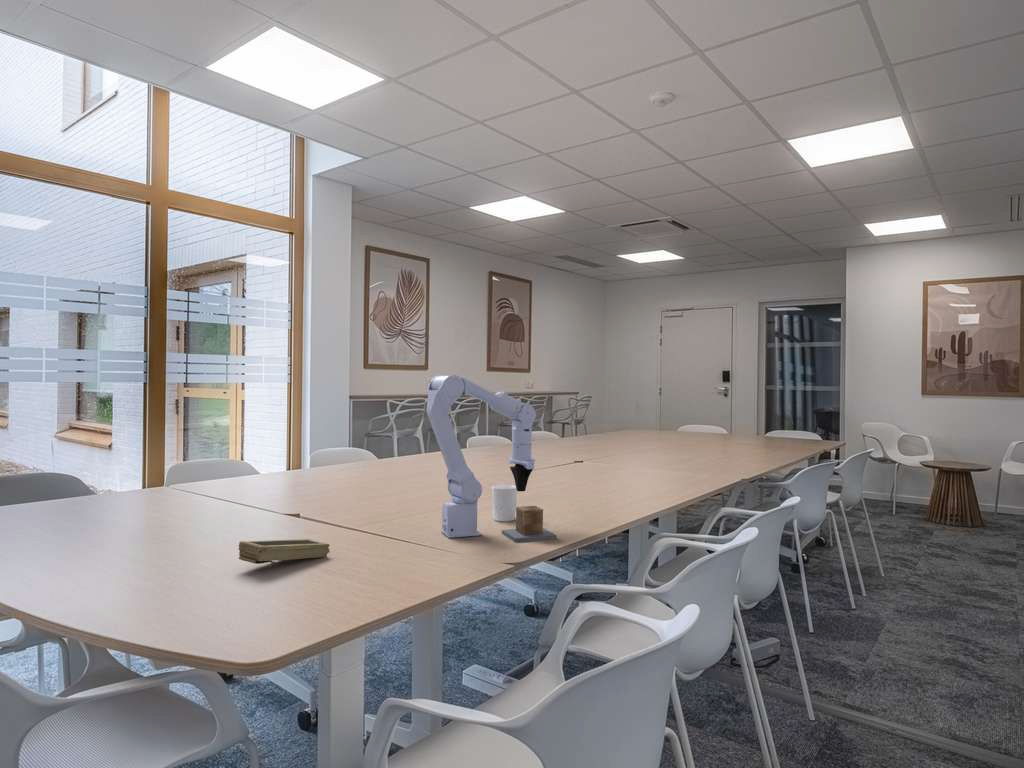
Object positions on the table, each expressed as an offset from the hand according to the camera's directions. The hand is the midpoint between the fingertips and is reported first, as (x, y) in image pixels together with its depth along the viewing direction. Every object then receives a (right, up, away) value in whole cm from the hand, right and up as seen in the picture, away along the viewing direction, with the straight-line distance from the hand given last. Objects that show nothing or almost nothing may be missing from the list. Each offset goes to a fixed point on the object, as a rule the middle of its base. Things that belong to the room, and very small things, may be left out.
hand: (520, 491), depth 180 cm
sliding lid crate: (+2, -9, -11) cm, 15 cm away
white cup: (-5, -11, +10) cm, 15 cm away
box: (-53, -10, -38) cm, 66 cm away
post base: (+2, -10, -11) cm, 15 cm away
